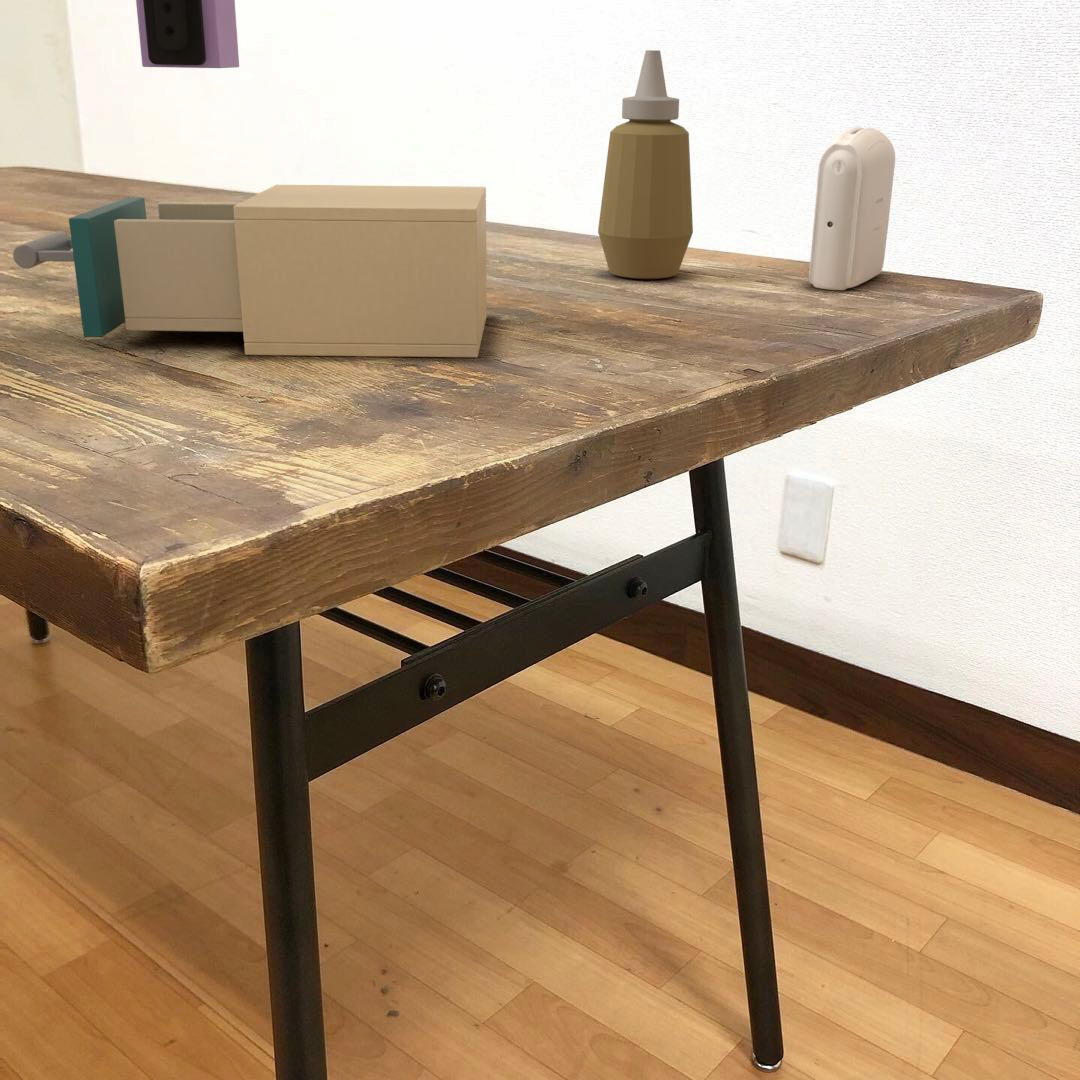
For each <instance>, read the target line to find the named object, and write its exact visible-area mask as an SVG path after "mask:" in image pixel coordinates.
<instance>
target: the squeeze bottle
mask: <svg viewBox="0 0 1080 1080" xmlns="http://www.w3.org/2000/svg"><path fill="white" fill-rule="evenodd" d="M664 72H665V71H664V67H663V61H662V54H661V50H655V49H654V50H652V49H651V50H650V49H649V50H647V49H646V50H645V52H644V56H643V60H642V64H641V69H640V73H639V77H638V81H637V86H636V89H635V94H634V96H628V97H622V103H621V118H622V120H623V119H624V120H627V121H626V122H623V123H620V124H618V125H616V126H615V127H614V128H613V129H612V130H611V131H610V132H609V138H608V139H609V140H608V147H607V155H606V163H605V171H604V178H603V179H604V181H603V189H602V194H601V196H602V197H601V203H600V211H599V219H598V220H599V221H598V226H597V227H598V228H597V233H598V236H599V240H600V244H601V247H602V250H603V254H604V257H605V260H606V263H607V264H606V265H607V268H608V272H609V273H610V274H611V275H614V276H617V277H621V278H625V279H633V280H661V279H668V278H671V277H674V276H677V275H679V274H678V273H679V271H680V269H681V266H682V263H683V259H684V258H685V255H686V252H687V250H688V247H689V244H690V241H691V239H692V236H693V233H694V225H693V222H694V221H693V201H692V176H691V151H690V133H689V131H688V130H687V129H686V128H685V127H684V126H682V125H680V124H678V123H676V122H673V121H675V120H678V119H679V116H680V115H679V113H680V99H679V98H677V97H670V96H668V92H667V86H666V85H667V84H666V80H665V74H664Z"/></svg>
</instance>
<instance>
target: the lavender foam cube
mask: <svg viewBox="0 0 1080 1080" xmlns="http://www.w3.org/2000/svg"><path fill="white" fill-rule="evenodd" d="M201 1H202V14H203V27H204V39H205V52H206V61H205V63H204V64H202V65H156V64H153V63H151V62H150V60H149V56H148V46H147V35H146V24H145V14H144V3H143V0H135V4H136V14H137V15H136V16H137V26H138V35H139V46H140V47H139V48H140V56H141V66H142V67H143V68H176V69H177V68H180V69H183V68H184V69H232V68H239V67H240V56H239V44H238V43H239V41H238V29H237V28H238V27H237V12H236V1H235V0H201Z"/></svg>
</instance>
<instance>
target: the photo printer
mask: <svg viewBox="0 0 1080 1080" xmlns="http://www.w3.org/2000/svg"><path fill="white" fill-rule="evenodd" d="M895 167H896V152H895V147H894V145H893V142H892V141H891V140H890V139H889V137H888V136H886V135H885V134H884V133H883V132H882V131H880V130H878V129H876V128H875V127H866V128H864V127H861V126H855V127H850V128H848V129H846V130H844V131H842V132H841V133H840V134H838V135H836V137H834V139H832V140H831V142H829V144H828V145H827V146H826V148H825V149H824V151H823V153H822V155H821V157H820V159H819V164H818V173H817V182H816V183H817V184H816V194H815V206H814V216H813V217H814V218H813V227H812V237H811V238H812V239H811V247H810V249H811V250H810V260H809V269H808V282H809V284H810V285H813V288H816V289H819V290H820V289H821V290H827V291H828V290H829V291H846V290H847V289H850V288H855V287H857V286H859V285H861V284H864V283H865V282H867V281H869V280H871V279H873V278H875V277H876V276H878V275H880V274H881V273H882V271H883V268H884V262H885V256H886V249H887V248H886V246H887V239H888V229H889V223H890V222H889V221H890V213H891V203H892V195H893V194H892V193H893V186H894V185H893V184H894V176H895Z"/></svg>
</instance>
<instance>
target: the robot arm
mask: <svg viewBox="0 0 1080 1080" xmlns="http://www.w3.org/2000/svg"><path fill="white" fill-rule="evenodd" d="M143 3H144V14H145V24H146V35H147V46H148V56H149V60H150V62H151V63H153V64H156V65H202V64H204V63H205V61H206V52H205V39H204V27H203V14H202V1H201V0H143Z"/></svg>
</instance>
